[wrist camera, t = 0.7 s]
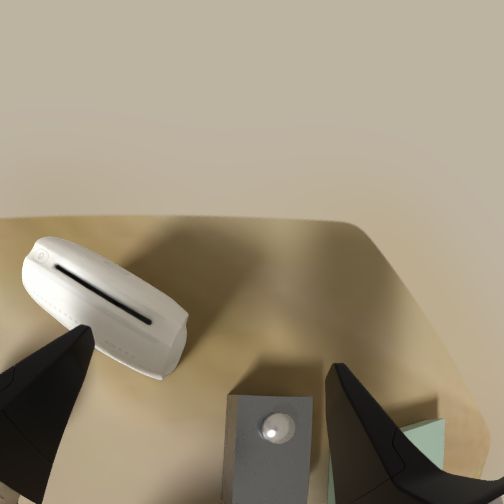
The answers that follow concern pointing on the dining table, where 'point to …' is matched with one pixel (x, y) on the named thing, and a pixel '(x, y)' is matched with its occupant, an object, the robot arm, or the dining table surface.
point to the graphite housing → (267, 449)
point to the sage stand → (423, 437)
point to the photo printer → (107, 305)
